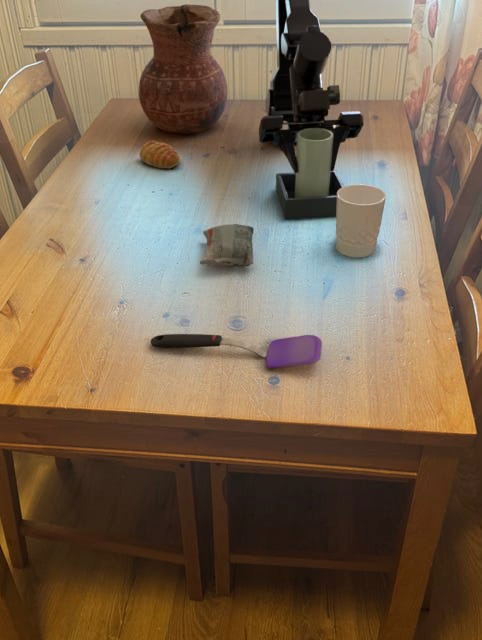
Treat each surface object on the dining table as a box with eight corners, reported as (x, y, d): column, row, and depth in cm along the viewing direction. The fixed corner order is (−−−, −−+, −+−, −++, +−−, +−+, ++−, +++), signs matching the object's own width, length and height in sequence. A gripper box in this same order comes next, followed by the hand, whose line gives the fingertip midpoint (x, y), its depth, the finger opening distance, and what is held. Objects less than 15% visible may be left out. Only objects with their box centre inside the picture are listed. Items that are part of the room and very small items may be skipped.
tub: (275, 192, 136) (276, 173, 134) (334, 189, 137) (336, 170, 134) (284, 220, 127) (285, 200, 125) (348, 216, 128) (350, 196, 125)
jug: (227, 140, 159) (225, 22, 143) (137, 141, 159) (125, 24, 144) (228, 108, 176) (226, 0, 161) (146, 109, 177) (137, 1, 161)
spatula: (145, 358, 95) (143, 344, 94) (157, 330, 100) (156, 316, 99) (318, 376, 92) (320, 362, 90) (322, 346, 97) (323, 331, 95)
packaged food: (200, 275, 112) (199, 249, 109) (203, 240, 121) (203, 215, 118) (253, 276, 112) (254, 249, 109) (253, 241, 121) (253, 215, 118)
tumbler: (299, 191, 135) (303, 126, 127) (331, 196, 133) (337, 130, 125) (290, 205, 130) (292, 138, 122) (322, 210, 128) (327, 142, 120)
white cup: (382, 241, 120) (389, 187, 114) (374, 263, 114) (381, 207, 108) (337, 234, 122) (342, 181, 116) (327, 256, 116) (332, 201, 110)
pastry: (188, 164, 148) (187, 146, 146) (164, 173, 145) (163, 156, 142) (160, 152, 154) (158, 136, 151) (136, 161, 150) (134, 144, 148)
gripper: (261, 70, 120) (268, 155, 118) (366, 65, 121) (375, 150, 119) (255, 101, 131) (262, 180, 129) (352, 96, 132) (360, 175, 130)
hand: (314, 171), depth 126 cm, fingers closed on tumbler, 6 cm apart
